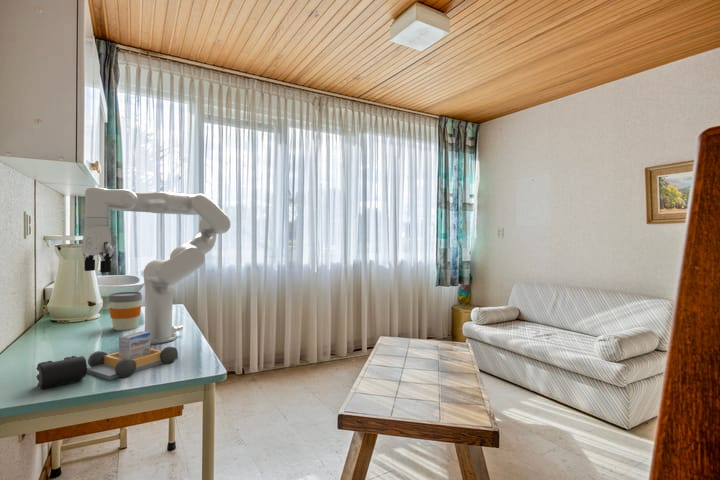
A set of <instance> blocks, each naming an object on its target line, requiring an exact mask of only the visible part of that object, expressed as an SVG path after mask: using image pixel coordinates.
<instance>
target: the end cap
mask: <svg viewBox="0 0 720 480" xmlns="http://www.w3.org/2000/svg"><path fill="white" fill-rule="evenodd" d="M87 368H88V362H87V359H86V358H85V356H84V355H80V356H75V355H72V356H67V357H64V358H63V359H62V360H55V361H52V360H48V361H42V362H39V363H37V366H36V370H37V371H38V374H37V375H36V379H37V381H38V383H37V386H38V388H39V389H41V390H45V389H50V388H52V387H57V386H61V385H65V384H70V383H73V382H74V383H75V382H78V381H82V380H83V379H84V378H85V377H86V375H87V374H88V373H87Z"/></svg>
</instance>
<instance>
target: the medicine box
mask: <svg viewBox="0 0 720 480" xmlns="http://www.w3.org/2000/svg"><path fill="white" fill-rule="evenodd" d="M118 352H119V358H121V359H131V360H133V359H136V358H140V357H143V356H147V355H150V332H145V331H143V330H142V331H138V332H134V333H131V334H126V335H124V336H123V335H122V336H119V337H118Z"/></svg>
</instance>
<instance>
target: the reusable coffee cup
mask: <svg viewBox="0 0 720 480" xmlns="http://www.w3.org/2000/svg"><path fill="white" fill-rule="evenodd" d="M108 296H109V297H108V302H109V314H110V315H109V316H110V318H111V322H112V328H113V330H114V329H115V330H116V331H126V330H133V329H136V328H137V327H138V322H139V317H140V316H141V311H142V310H141V309H142V305H141V303H142V300H143V296H142V292H140V291H122V292H113V293H110V294H109V295H108Z"/></svg>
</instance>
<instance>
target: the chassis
mask: <svg viewBox="0 0 720 480" xmlns="http://www.w3.org/2000/svg"><path fill="white" fill-rule="evenodd" d="M178 351H179V350H178V349H177V348H176V347H174V346H166V347H164V348H163V349H162V350H160V349H155V348H152V344H150V355H147V356H143V357H140V358H136V359H133V360H131V359H121V358H119V351H117V352H113V353H110V354H109V353H107V352H104V351H100V350H98V351H94V352H92V353H91V355H89V357H88V358H87V365H88V366H89V367H87V373H86V374H89V375H92V376H94V377H98V378H101V379H105V380H107V379H108V380H107V381H112V380H115V379H118V378H129V377H131V376H132V375H133V374H134V373H136V372H139V371H142V370H147V369H149V368H152V367H153V368H154V367H156V366H158V365H161V364H164V363H167V364H172V363H174V362H175V361H176V360H177V359H178V358H179V352H178Z"/></svg>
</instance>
